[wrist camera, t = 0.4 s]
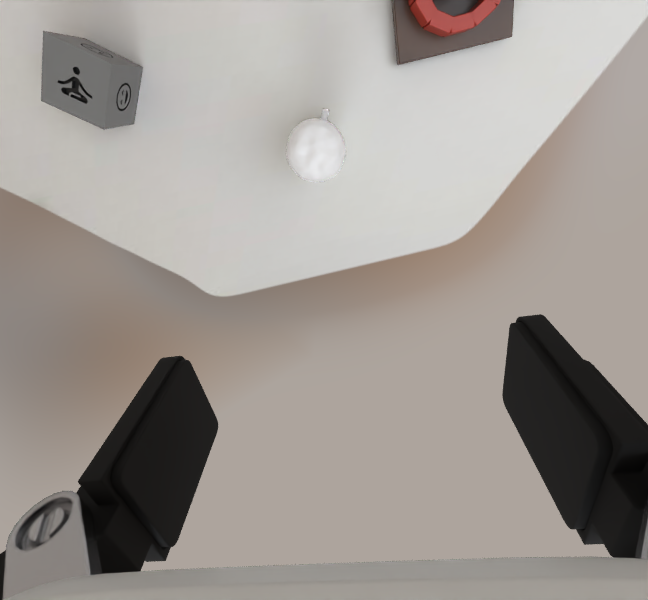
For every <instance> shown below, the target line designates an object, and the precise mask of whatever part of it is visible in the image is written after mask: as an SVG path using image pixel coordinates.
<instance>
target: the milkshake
mask: <svg viewBox="0 0 648 600" xmlns="http://www.w3.org/2000/svg"><path fill="white" fill-rule="evenodd" d="M328 115H329V110H328V109H325V108H323V111H322V116H321V119H319V118H311V119H307V120H304V121H302V122H301V123H299V124H298V125H297V126H296V127H295V128H294V129H293V130H292V132H291V133H290V135H289V138H288V141H287V145H286V156H287V161H288V163H289V165H290V167H291V168H292V169H293V171H294V172H295V173H296V174H297V175H298V176H299V177H300V178H302V179H304V180H307V181H310V182H323V181H326V180H329V179H331V178H333V177H334V176H335V175H337V174H338V172H339V171H340V170H341V168H342V166H343V163H344V160H345V157H346V145H345V142H344V138H343V136H342V134H341V132H340V131H339V129H338V128H337V127H336V126H335V125H334V124H332V123H330V122H329V121H327V120H328Z"/></svg>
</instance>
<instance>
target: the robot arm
mask: <svg viewBox="0 0 648 600" xmlns="http://www.w3.org/2000/svg"><path fill="white" fill-rule="evenodd" d="M503 401H504V404H505V407H506V409H507V411H508V413H509V415H510V417H511V419H512V421H513V423H514V424H515V426H516V428H517V430H518V432H519V434H520V436H521V438H522V440H523V442H524V444H525V446H526V448H527V450H528V452H529V454H530V456H531V457H532V459H533V461H534V463H535V465H536V467H537V469H538V471H539V473H540V475H541V477H542V479H543V481H544V483H545V485H546V487H547V489H548V490H549V492H550V494H551V496H552V498H553V500H554V502H555V504H556V506H557V508H558V510H559V512H560V514H561V515H562V518H563V520H564V521H565V523H566V524H567V526H568V527H569V528H570V529H576V530H577V532H578V534H579V535H580V537H581V539H582V541H583V543H584V544H585V545H586V544H604V545H605V547H606V548H607V550H608V552H609V554H610V555H611V556H612V557H614V558H612V557H611V558H609V557H533V558H532V557H530V558H529V557H528V558H527V557H526V558H484V559H450V560H418V561H385V562H357V563H329V564H300V565H273V566H248V567H224V568H200V569H175V570H155V571H141V568H142V566H143V563H144V561H147V562H149V561H166V558H167V555H168V553H169V550H170V548H171V547H173V546H174V545H175V544H176V542H177V540H178V538H179V535H180V533H181V530H182V527H183V524H184V522H185V519H186V516H187V513H188V511H189V508H190V505H191V502H192V500H193V497H194V494H195V491H196V489H197V486H198V483H199V480H200V478H201V475H202V472H203V469H204V467H205V464H206V461H207V458H208V455H209V453H210V450H211V447H212V445H213V442H214V439H215V436H216V434H217V430H218V421H217V418H216V416H215V414H214V412H213V410H212V408H211V405H210V403H209V401H208V399H207V397H206V395H205V392H204V390H203V389H202V386H201V384H200V382H199V380H198V377H197V375H196V373H195V371H194V369H193V367H192V365H191V363H190V361H188V360H185V359H184V358H183V357H182V356H175V357H167V358H162V359H160V360H159V362H158V363H157V365H156V366H155V368H154V369H153V371H152V372H151V374H150V375H149V377H148V378H147V379H146V381H145V382H144V384H143V386H142V387H141V389H140V390H139V391H138V393H137V394H136V396H135V397H134V399H133V400H132V402H131V403H130V405H129V406H128V408H127V409H126V411H125V412H124V414H123V415H122V417H121V418H120V420H119V421H118V423H117V424H116V426H115V427H114V429H113V431H111V433H110V435H109V436H108V437H107V439H106V440H105V442H104V444H103V445H102V446H101V448H100V449H99V451H98V452H97V454H96V455H95V457H94V459H93V460H92V461H91V463H90V464H89V466H88V467H87V469H86V470H85V472H84V473H83V475H82V476H81V478H80V479H79V481H78V483H79V484H80V485H81V487H80V488H79V490H78V491H77V493H74V492H73V491H62V492H58V493H54V494H53V495H51V496H48V497H46V498H44V499H43V500H42V501H40V502H38V503H37V504H36V505H34V506H33V507H32V508H31V509H30V510H29V511H28V512H26V513H25V514H24V515H23V516H22V517H21V519H20V520H19V521H18V522H17V523H16V525H15V526H14V528H13V530H12V531H11V533H10V535H9V537H8V541H7V545H6V550H5V551H4V552H3V553H1V554H0V600H648V425H647V423H646V422H645V421H644V420H643V419H642V418H641V417H640V416H639V415H638V414H637V412H636V411H635V410H634V409H633V408H632V407H631V406H630V405H629V404H628V403H627V402H626V401H625V399H624V398H623V397H622V396H621V395H620V394H619V393H618V392H617V391H616V390H615V388H614V387H613V386H612V385H611V384H610V383H609V382H608V381H607V380H606V379H605V377H604V376H603V375H602V374H601V373H600V372H599V371H598V370H597V369H596V368H595V367H594V365H592V364H591V363H590V362H589V361H586V360H583V359H582V358H581V356H580V355H579V354H578V353H577V352H576V351H575V350H574V349H573V348H572V346H571V345H570V344H569V343H568V342H567V341H566V340H565V339H564V337H563V336H562V335H560V333H559V332H558V331H557V330H556V329H555V328H554V326H553V325H552V324H551V323H550V322H549V321H548V320H547V319H546V317H545V316H543V315H532V316H523V317H519V318H517V320H516V323H511V325H510V328H509V338H508V347H507V357H506V366H505V376H504V385H503Z"/></svg>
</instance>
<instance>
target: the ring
mask: <svg viewBox="0 0 648 600" xmlns="http://www.w3.org/2000/svg"><path fill="white" fill-rule="evenodd" d="M500 1H501V0H478V2H477V4H475V5H474V6H473V7H472V8H471V9H470V10H469V11H468V12H467V13H465V14H461V15H457V16H452V15H449V14H447V13H445V12H442V11H440V10H438V9H437V8H436V6H435V4H434V2H433V1H432V0H408V2H409V6H411V7H410V9H411V11H412V13H413V14H414V16H415V18H416V19H417V21H418V23H419V24H420V26H421V27H423V26H424V27H423V29H424V30H427V31H429V32H431V33H434V34H436V35H438V36H441V37H442V36H444V37H446V36H450V35H454V34H458V33H462V32H465V31H468V30H470V29H472V28H474V27H475V26H477V25H478V24H480V23H481V22H482V21H483V20H484V19H485V18H486V17H487V16H488V15H489V14H490V13H491V12H492V11H493V10H495V9H496V7H497V5H499V3H500Z"/></svg>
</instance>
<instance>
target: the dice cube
mask: <svg viewBox="0 0 648 600" xmlns="http://www.w3.org/2000/svg"><path fill="white" fill-rule="evenodd" d="M142 69H143V67H141V66H139V65H137V64H135V63H133V62H131V61H129V60H127V59H125V58H123V57H121V56H119V55H117V54H115V53H113V52H111V51H109V50H107V49H105V48H103V47H101V46H99V45H97V44H95V43H93V42H91V41H89V40H87V39H85V38H79V37H74V36H69V35H63V34H58V33H52V32H47V31H43V56H42V89H41V101H42V102H45V103H47V104H49V105H51V106H54V107H56V108H58V109H60V110H62V111H65V112H67V113H69V114H71V115H73V116H76V117H78V118H80V119H82V120H84V121H87V122H89V123H91V124H93V125H95V126H98V127H100V128H102V129H109V128H115V127H120V126H126V125H131V124H134V120H135V114H136V107H137V101H138V95H139V88H140V82H141V75H142Z"/></svg>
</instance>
